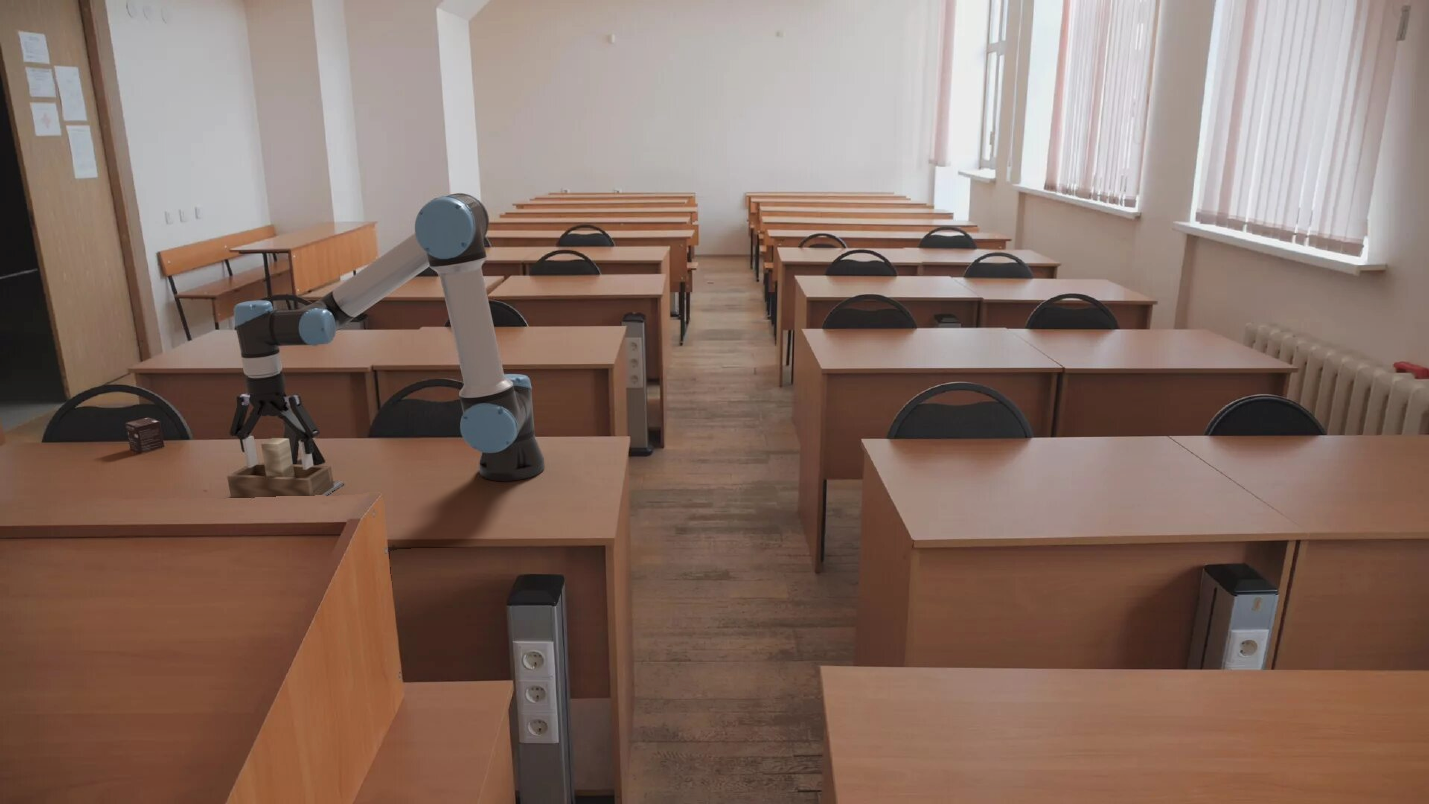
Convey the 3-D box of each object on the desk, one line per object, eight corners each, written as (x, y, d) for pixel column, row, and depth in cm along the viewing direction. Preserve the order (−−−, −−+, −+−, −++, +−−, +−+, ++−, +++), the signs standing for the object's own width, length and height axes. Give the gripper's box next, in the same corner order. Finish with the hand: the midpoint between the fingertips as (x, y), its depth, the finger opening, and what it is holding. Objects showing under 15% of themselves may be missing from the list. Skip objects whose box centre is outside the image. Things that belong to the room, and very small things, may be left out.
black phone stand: (289, 472, 223) (281, 424, 220) (277, 467, 227) (270, 419, 224) (325, 462, 230) (318, 415, 226) (313, 457, 234) (307, 411, 230)
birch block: (296, 489, 210) (288, 438, 207) (285, 496, 207) (277, 444, 203) (280, 488, 211) (272, 437, 208) (269, 495, 207) (261, 443, 204)
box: (129, 450, 242) (124, 422, 240) (154, 443, 247) (149, 416, 245) (141, 454, 239) (135, 426, 237) (165, 447, 243) (160, 420, 241)
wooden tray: (344, 484, 215) (341, 460, 213) (302, 512, 200) (298, 486, 198) (265, 480, 218) (262, 457, 217) (219, 507, 203) (214, 482, 202)
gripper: (326, 369, 202) (341, 462, 208) (224, 368, 207) (241, 459, 213) (306, 378, 195) (322, 474, 201) (200, 377, 200) (218, 470, 206)
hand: (280, 466), depth 207 cm, fingers open, 13 cm apart
